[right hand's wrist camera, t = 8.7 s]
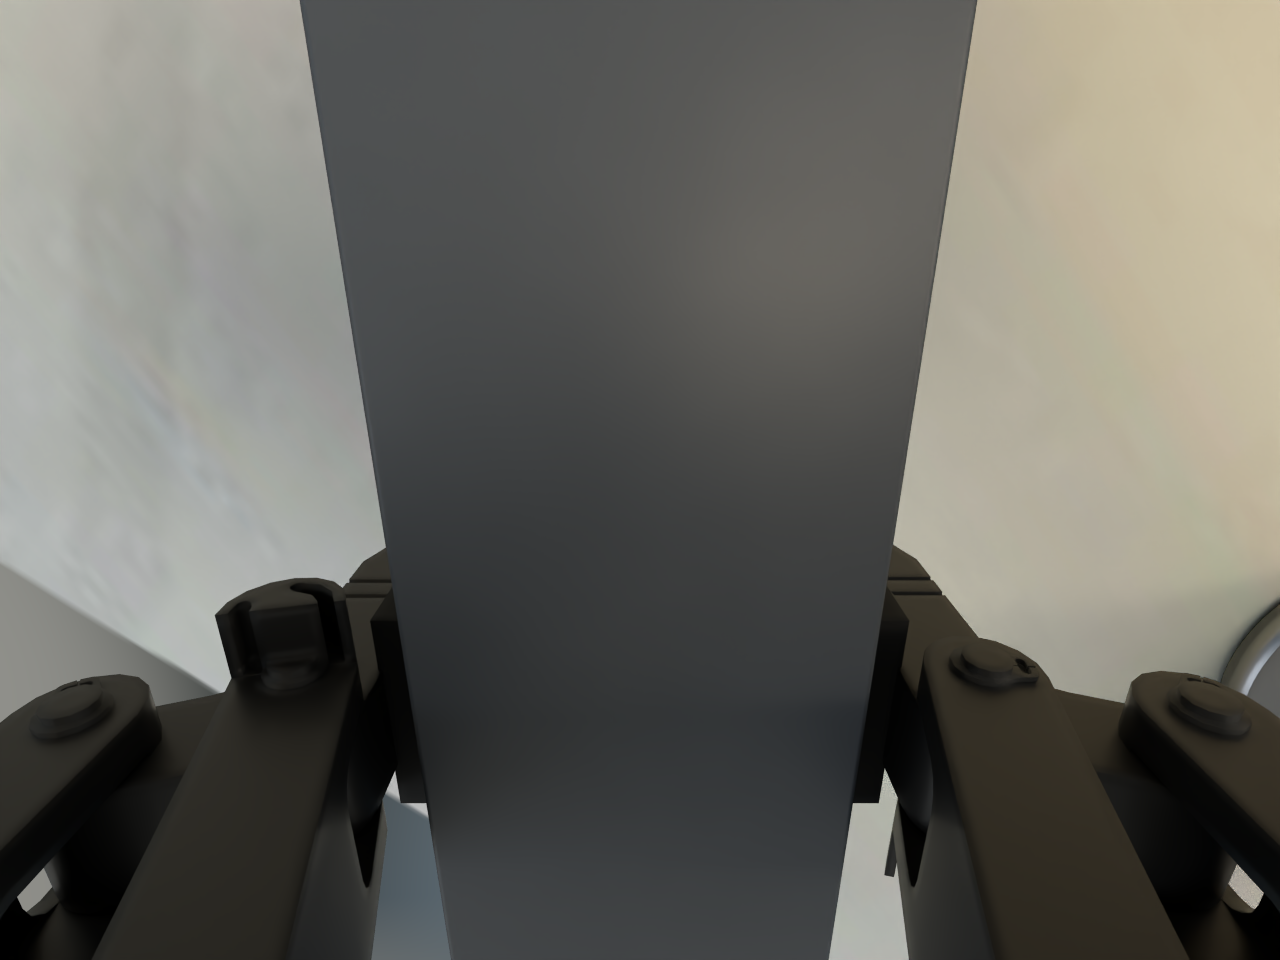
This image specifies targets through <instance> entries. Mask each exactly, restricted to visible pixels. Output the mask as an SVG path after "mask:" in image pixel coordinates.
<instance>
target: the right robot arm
mask: <svg viewBox="0 0 1280 960" xmlns="http://www.w3.org/2000/svg"><path fill="white" fill-rule="evenodd" d="M349 580H350V581H349V583H346V584H345V586H344V587H343V588H342V587H340V586H339V585H338V584H337V583H335V582H333V581H329V580H324V579H320V578H294V579H288V580H283V581H278V582H272V583H269V584H266V585H263V586H260V587H257V588H255V589H252V590H249V591H246V592H245V593H243V594H241V595H239V596H238V597H236V598H234V599H232V600H231V601H229V602H227V603H226V604H225V605H224V606H223V607H222V608H221V609H220V610H219V611H218V612H217V613H216V614H215V618H216V622H217V625H218V629H219V633H220V637H221V640H222V644H223V648H224V652H225V655H226V659H227V663H228V667H229V670H230V674H231V680H230V682H229V685H228V687H227V689H226V691H225V692H223V693H219V694H215V695H211V696H207V697H202V698H196V699H191V700H187V701H181V702H177V703H171V704H166V705H162V706H155V703H154V700H153V697H152V694H151V691H150V687H149V685H148V684H146V683H145V682H144V681H143V680H141V679H140V678H139V677H134V676H127V675H121V674H117V675H108V676H98V677H90V678H85V679H81V680H80V681H78V682H77V681H74V682H70V683H67V684H64V685H62V686H60V687H58V688H57V689H55V690H53V691H50V692H48V693H46V694H44V695H42V696H39V697H37V698H35V699H34V700H32V701H31V702H29V703H27V704H26V705H24V706H23V707H21V708H20V709H18V710H17V711H15V712H14V713H12V714H11V715H9V716H8V717H7V718H6V719H4V720H3V721H2V722H1V723H0V960H371V957H372V949H373V941H374V933H375V925H376V917H377V909H378V901H379V893H380V885H381V877H382V869H383V861H384V853H385V845H386V837H387V824H386V816H385V811H384V805H383V800H382V799H383V797H384V795H385V792H386V790H387V788H388V786H389V783H390V781H391V779H392V776H393V774H394V772H396V778H397V784H398V790H399V795H400V801H401V803H426V797H425V791H424V784H423V778H422V772H421V765H420V759H419V753H418V746H417V740H416V734H415V727H414V721H413V715H412V708H411V702H410V696H409V689H408V683H407V677H406V670H405V664H404V658H403V651H402V645H401V639H400V632H399V626H398V620H397V613H396V607H395V601H394V594H393V588H392V582H391V575H390V569H389V563H388V556H387V550H386V548H385V549H383V550H381V551H380V552H378V553H377V554H375V555H373V556H372V557H370V558H369V559H367V560H365V561H364V562H363V563H362V564H361V565H360V567H359V568H358V569H357V570H356V572H355V573H354V574H353V576H352V577H351V578H350V579H349ZM884 769H886V772H887V774H888V776H889V779H890V781H891V783H892V785H893V788H894V790H895V792H896V795H897V797H898V800H897V805H896V811H895V816H894V822H893V827H892V833H891V838H890V844H889V849H888V855H887V860H886V868H885V875H886V876H891V877H894V874H895V869H896V863H897V868H898V876H899V884H900V891H901V899H902V907H903V915H904V923H905V931H906V939H907V947H908V955H909V960H1280V605H1278V606H1277V607H1276V608H1274V609H1273V610H1272V611H1271V612H1270V613H1269V614H1267V615H1266V616H1265V617H1264V618H1263V619H1262V620H1261V621H1260V622H1259V623H1258V624H1257V625H1256V626H1255V627H1254V628H1253V629H1252V630H1251V631H1250V633H1249V634H1248V635H1247V636H1246V638H1245V639H1244V640H1243V641H1242V643H1241V644H1240V645H1239V647H1238V648H1237V650H1236V651H1235V653H1234V655H1233V656H1232V658H1231V660H1230V661H1229V663H1228V665H1227V668H1226V670H1225V672H1224V674H1223V677H1222V680H1221V683H1220V682H1217V681H1214V680H1211V679H1208V678H1205V677H1204V678H1200V676H1197V675H1192V674H1188V673H1176V672H1166V671H1157V672H1151V673H1144V674H1141V675H1140V676H1139V677H1137V678H1136V679H1135V680H1134V681H1132V682H1131V685H1130V688H1129V692H1128V695H1127V698H1126V701H1125V703H1120V702H1114V701H1109V700H1104V699H1099V698H1094V697H1089V696H1084V695H1079V694H1074V693H1069V692H1065V691H1061V690H1057V689H1054V687H1053V685H1052V683H1051V681H1050V679H1049V677H1048V676H1047V675H1046V674H1045V672H1044V671H1043V670H1042V669H1041V668H1040V666H1039V665H1038V664H1037V663H1036V662H1034V661H1033V660H1031V659H1030V658H1028V657H1027V656H1025V655H1024V654H1023V653H1021V652H1020V651H1018V650H1015V649H1013V648H1011V647H1008V646H1006V645H1003V644H1001V643H999V642H996V641H991V640H987V639H982V638H978V637H977V635H976V634H975V633H974V631H973V630H972V629H971V628H970V626H969V625H968V624H967V623H966V621H965V620H964V619H963V618H962V616H961V615H960V614H959V612H958V611H957V610H956V609H955V607H954V606H953V605H952V604H951V602H950V601H949V600H948V599H947V597H946V596H945V595H942V591H941V590H940V588H939V587H938V586H937V585H936V583H935V582H934V581H933V580H931V579H930V576H929V574H928V573H927V572H926V571H925V569H924V568H923V567H922V566H921V564H920V563H919V562H918V561H917V559H915V558H914V557H912V556H910V555H909V554H907V553H905V552H904V551H902V550H900V549H899V548H897V547H896V546H894V545H893V547H892V553H891V560H890V566H889V573H888V579H887V585H886V592H885V598H884V605H883V611H882V618H881V624H880V631H879V637H878V643H877V650H876V656H875V663H874V669H873V676H872V682H871V689H870V695H869V702H868V708H867V714H866V721H865V727H864V734H863V740H862V747H861V753H860V760H859V766H858V773H857V779H856V785H855V792H854V798H853V803H879V798H880V792H881V787H882V781H883V775H884ZM1237 864H1238V865H1239V866H1240V867H1241V869H1242V870H1243V871H1244V872H1245V873H1246V874H1247V875H1248V876H1249V877H1250V878H1251V879H1252V881H1253V882H1254V883H1255V884H1256V885H1257V886H1258V887H1259V888H1260V889H1261V890H1262V891H1263V892H1264V894H1263V897H1262V899H1261V901H1260V903H1259V905H1258V906H1257V907H1256V909H1253V908H1251V907H1250V906H1249V905H1248V904H1247V903H1245V902H1244V901H1243V900H1242V899H1241V898H1240V897H1239V896H1238V895H1237V894H1236V892H1235V891H1234V890H1233V889H1232V888H1231V887H1230V886H1229V884H1228V883H1229V881H1230V879H1231V876H1232V874H1233V872H1234V870H1235V867H1236V865H1237ZM43 868H44V869H45V871H46V873H47V876H48V878H49V880H50V883H51V885H52V888H51V889H50V890H49V891H48V893H47V894H46V895H45V896H44V897H43V898H42V899H41V901H40V902H38V903H37V904H36V905H35V906H33V907H32V908H31V909H30V910H29V911H27V912H26V911H25V910H23V909H22V907H21V905H20V902H19V900H18V898H17V896H18V895H19V894H20V893H21V892H22V891H23V890H24V889H25V888H26V886H27V885H28V884H29V883H30V882H31V881H32V880H33V879H34V878H35V877H36V875H37V874H38V873H39V872H40V871H41V870H42V869H43Z"/></svg>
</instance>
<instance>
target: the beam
mask: <svg viewBox="0 0 1280 960" xmlns="http://www.w3.org/2000/svg"><path fill="white" fill-rule="evenodd" d="M300 5H301V12H302V18H303V24H304V31H305V37H306V43H307V50H308V56H309V62H310V69H311V75H312V81H313V88H314V94H315V100H316V107H317V113H318V119H319V126H320V132H321V138H322V145H323V151H324V157H325V164H326V170H327V176H328V183H329V189H330V195H331V202H332V208H333V214H334V221H335V227H336V233H337V240H338V246H339V252H340V259H341V265H342V271H343V278H344V284H345V290H346V297H347V303H348V309H349V316H350V322H351V328H352V335H353V341H354V347H355V354H356V360H357V366H358V373H359V379H360V385H361V392H362V398H363V404H364V411H365V417H366V423H367V430H368V436H369V442H370V449H371V455H372V461H373V468H374V474H375V480H376V487H377V493H378V499H379V506H380V512H381V518H382V525H383V531H384V537H385V544H386V550H387V556H388V563H389V569H390V575H391V582H392V588H393V594H394V601H395V607H396V613H397V620H398V626H399V632H400V639H401V645H402V651H403V658H404V664H405V670H406V677H407V683H408V689H409V696H410V702H411V708H412V715H413V721H414V727H415V734H416V740H417V746H418V753H419V759H420V765H421V772H422V778H423V784H424V791H425V797H426V803H427V810H428V816H429V822H430V829H431V835H432V841H433V848H434V854H435V860H436V867H437V873H438V879H439V886H440V892H441V898H442V905H443V911H444V917H445V924H446V930H447V936H448V943H449V949H450V955H451V960H829V953H830V947H831V940H832V934H833V927H834V921H835V914H836V908H837V902H838V895H839V889H840V882H841V876H842V869H843V863H844V856H845V850H846V844H847V837H848V831H849V824H850V818H851V811H852V805H853V798H854V792H855V785H856V779H857V773H858V766H859V760H860V753H861V747H862V740H863V734H864V727H865V721H866V714H867V708H868V702H869V695H870V689H871V682H872V676H873V669H874V663H875V656H876V650H877V643H878V637H879V631H880V624H881V618H882V611H883V605H884V598H885V592H886V585H887V579H888V573H889V566H890V560H891V553H892V547H893V540H894V534H895V527H896V521H897V514H898V508H899V502H900V495H901V489H902V482H903V476H904V469H905V463H906V456H907V450H908V443H909V437H910V431H911V424H912V418H913V411H914V405H915V398H916V392H917V385H918V379H919V373H920V366H921V360H922V353H923V347H924V340H925V334H926V327H927V321H928V314H929V308H930V302H931V295H932V289H933V282H934V276H935V269H936V263H937V256H938V250H939V243H940V237H941V231H942V224H943V218H944V211H945V205H946V198H947V192H948V185H949V179H950V173H951V166H952V160H953V153H954V147H955V140H956V134H957V127H958V121H959V114H960V108H961V102H962V95H963V89H964V82H965V76H966V69H967V63H968V56H969V50H970V43H971V37H972V31H973V24H974V18H975V11H976V5H977V0H300Z"/></svg>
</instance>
